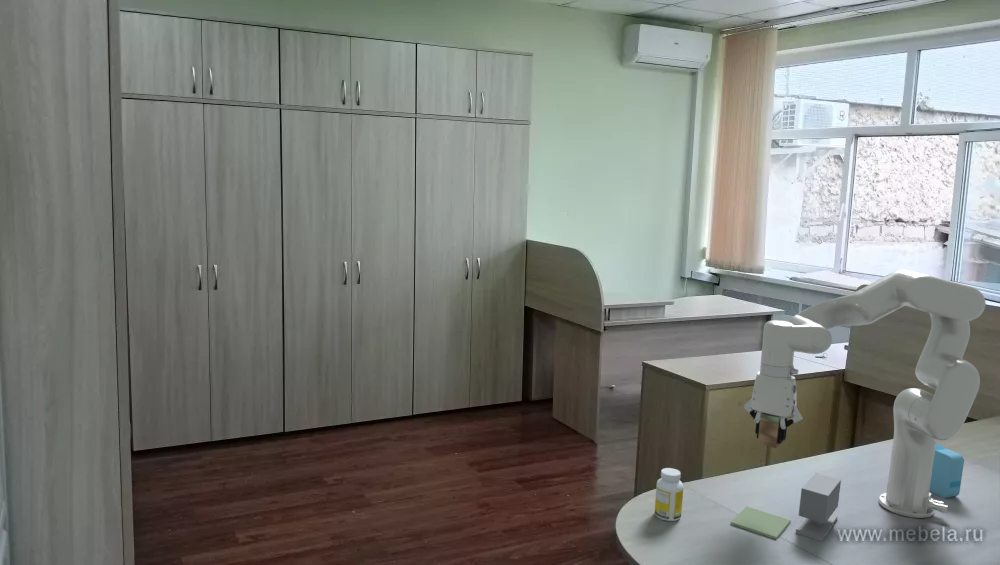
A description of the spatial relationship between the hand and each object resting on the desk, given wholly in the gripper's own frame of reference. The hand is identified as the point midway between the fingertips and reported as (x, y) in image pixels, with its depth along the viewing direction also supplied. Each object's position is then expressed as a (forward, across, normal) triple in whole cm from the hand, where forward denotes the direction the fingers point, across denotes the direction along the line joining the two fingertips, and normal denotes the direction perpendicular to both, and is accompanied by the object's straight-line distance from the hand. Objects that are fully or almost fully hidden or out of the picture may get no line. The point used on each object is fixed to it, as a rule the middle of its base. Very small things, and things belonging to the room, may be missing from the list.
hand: (770, 438), depth 186 cm
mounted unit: (+18, -14, +2) cm, 23 cm away
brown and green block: (+1, 0, 0) cm, 1 cm away
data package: (+19, -33, -43) cm, 57 cm away
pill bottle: (+18, +16, +22) cm, 33 cm away
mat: (+18, -3, +10) cm, 21 cm away
